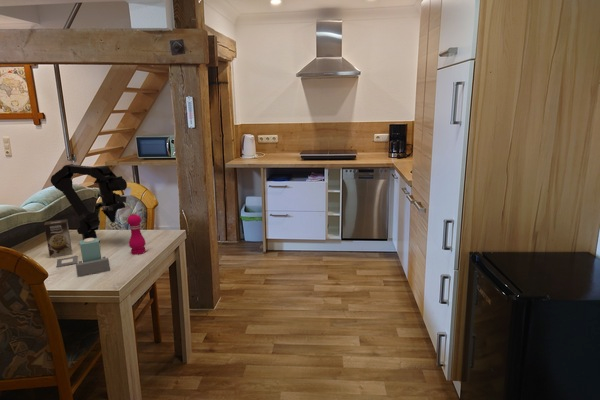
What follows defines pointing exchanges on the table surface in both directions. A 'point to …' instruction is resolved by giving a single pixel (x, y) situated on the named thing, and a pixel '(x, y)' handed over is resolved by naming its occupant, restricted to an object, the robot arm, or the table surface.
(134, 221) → the pepper mill
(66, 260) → the card
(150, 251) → the table surface
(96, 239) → the teal tall block
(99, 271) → the gray support stand
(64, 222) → the cookie box
